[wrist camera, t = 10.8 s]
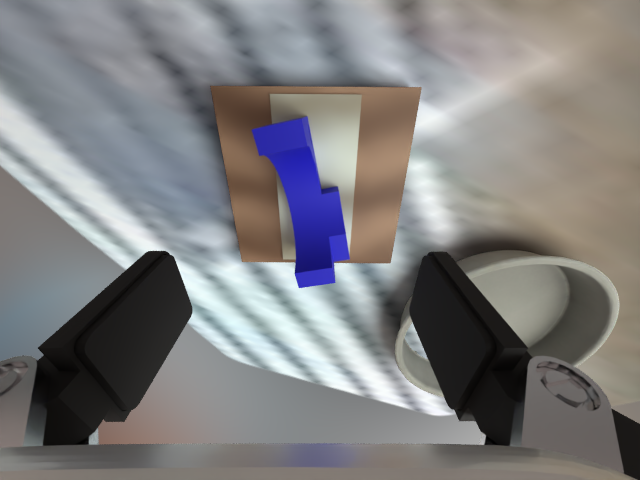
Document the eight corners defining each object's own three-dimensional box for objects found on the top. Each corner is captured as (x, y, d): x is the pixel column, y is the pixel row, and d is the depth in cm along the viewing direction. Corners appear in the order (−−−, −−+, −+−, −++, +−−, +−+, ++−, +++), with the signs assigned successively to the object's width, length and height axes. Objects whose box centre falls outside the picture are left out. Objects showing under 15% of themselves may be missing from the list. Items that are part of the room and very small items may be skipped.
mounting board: (220, 88, 20) (209, 85, 18) (412, 89, 20) (422, 87, 18) (247, 252, 28) (241, 262, 26) (386, 253, 27) (390, 264, 26)
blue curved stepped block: (347, 243, 24) (353, 280, 19) (304, 250, 25) (299, 288, 20) (326, 112, 19) (327, 113, 13) (271, 124, 19) (251, 129, 14)
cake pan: (427, 219, 26) (446, 239, 22) (629, 254, 28) (681, 278, 24) (366, 361, 37) (371, 391, 33) (511, 379, 39) (533, 409, 35)
